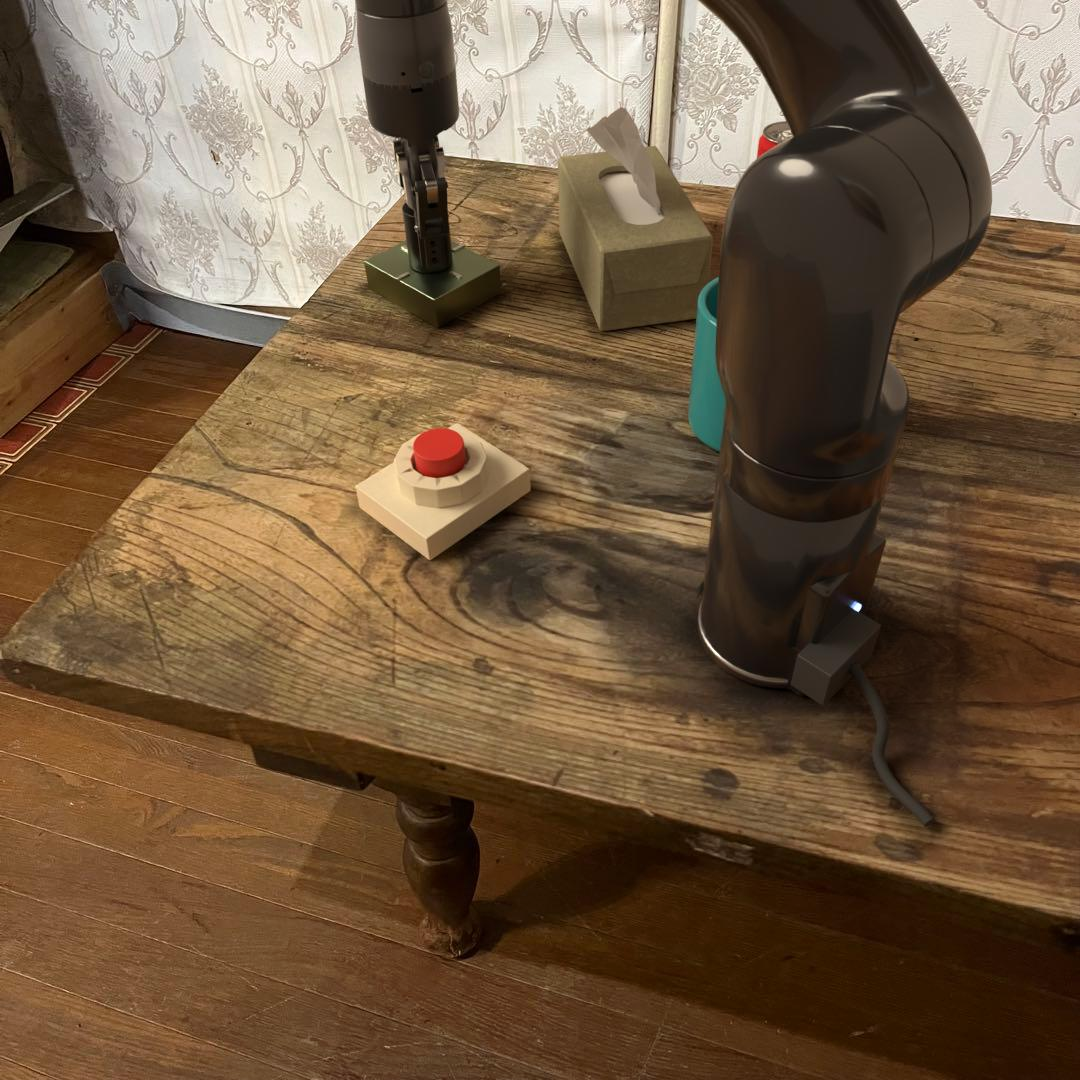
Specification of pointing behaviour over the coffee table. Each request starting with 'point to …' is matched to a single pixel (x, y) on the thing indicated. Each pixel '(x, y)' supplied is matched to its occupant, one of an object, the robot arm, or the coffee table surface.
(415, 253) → the dial
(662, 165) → the tissue box
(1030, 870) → the coffee table surface
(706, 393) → the cup
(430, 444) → the power button
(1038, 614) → the coffee table surface
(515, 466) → the switch box
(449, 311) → the control panel
